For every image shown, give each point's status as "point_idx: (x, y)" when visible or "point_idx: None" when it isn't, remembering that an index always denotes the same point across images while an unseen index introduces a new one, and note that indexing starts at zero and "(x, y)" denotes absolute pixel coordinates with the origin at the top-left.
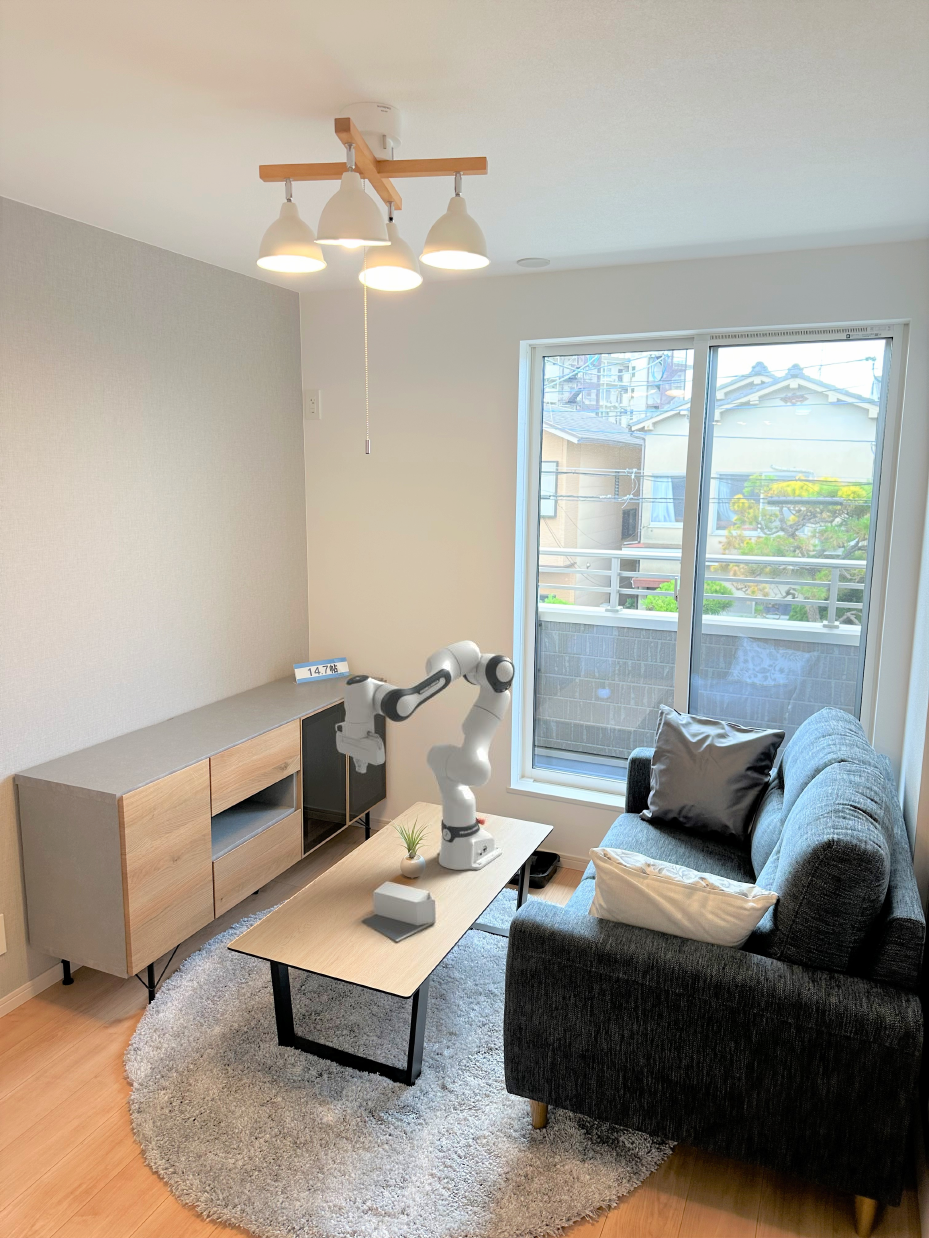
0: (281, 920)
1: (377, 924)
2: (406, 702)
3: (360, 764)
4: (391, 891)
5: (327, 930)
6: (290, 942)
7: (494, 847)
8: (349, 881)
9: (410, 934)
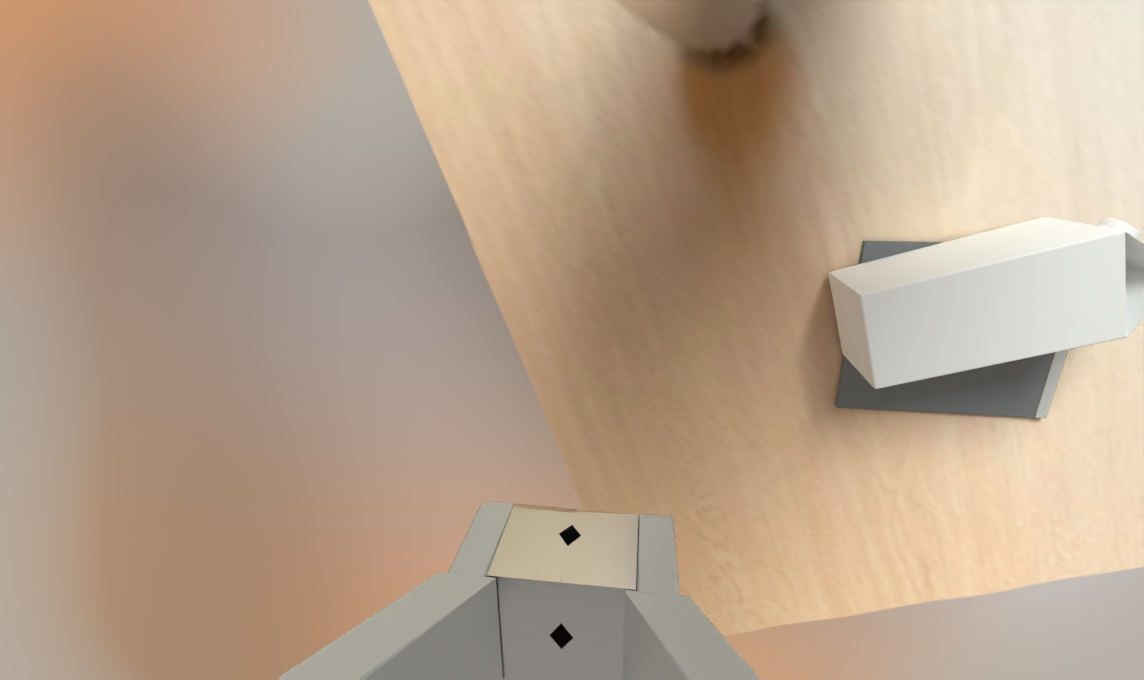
0: None
1: (904, 390)
2: None
3: (487, 617)
4: (948, 343)
5: (781, 497)
6: (745, 587)
7: None
8: (574, 257)
9: (1063, 363)
